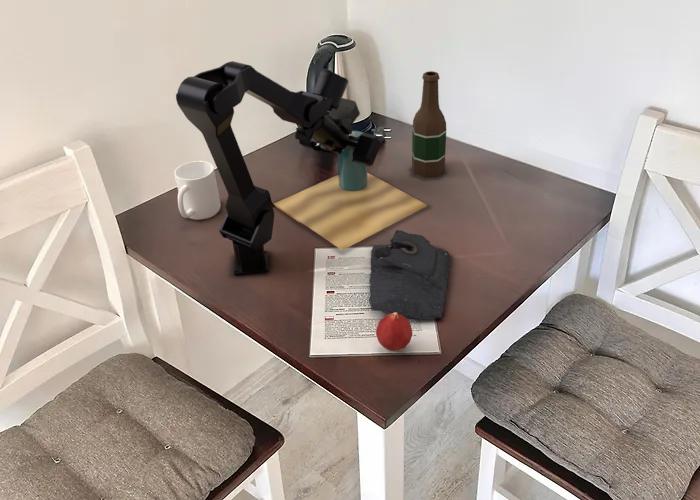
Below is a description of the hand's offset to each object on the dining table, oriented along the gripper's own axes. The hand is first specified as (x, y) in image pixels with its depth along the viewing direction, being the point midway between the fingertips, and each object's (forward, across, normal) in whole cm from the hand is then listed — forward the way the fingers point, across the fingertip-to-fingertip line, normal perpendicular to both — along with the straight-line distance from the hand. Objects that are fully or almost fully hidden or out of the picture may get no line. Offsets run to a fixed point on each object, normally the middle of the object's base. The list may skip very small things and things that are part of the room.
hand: (355, 154), depth 148 cm
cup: (-15, +22, +26) cm, 37 cm away
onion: (-23, -36, +34) cm, 55 cm away
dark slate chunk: (-12, -28, +23) cm, 38 cm away
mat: (-1, -4, +12) cm, 12 cm away
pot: (+4, 0, +6) cm, 7 cm away
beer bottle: (+15, -11, -4) cm, 19 cm away
